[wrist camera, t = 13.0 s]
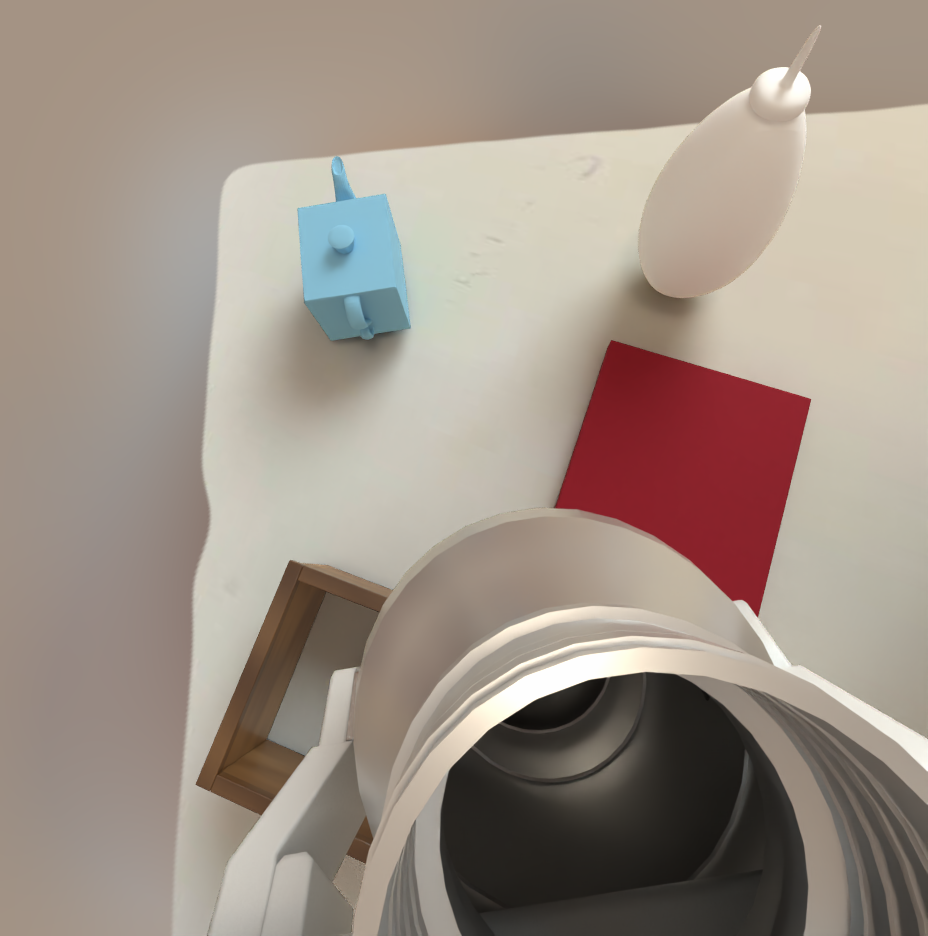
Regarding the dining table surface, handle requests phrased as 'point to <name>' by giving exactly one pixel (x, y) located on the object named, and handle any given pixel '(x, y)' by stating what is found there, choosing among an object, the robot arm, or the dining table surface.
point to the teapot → (352, 264)
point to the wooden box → (277, 693)
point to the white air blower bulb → (727, 186)
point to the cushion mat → (689, 462)
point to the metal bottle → (612, 745)
